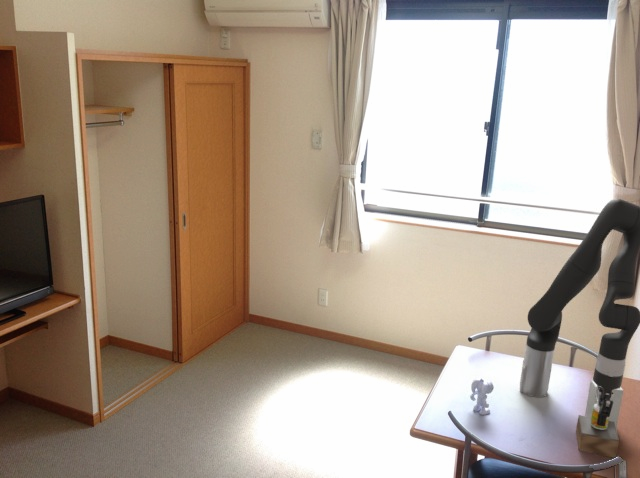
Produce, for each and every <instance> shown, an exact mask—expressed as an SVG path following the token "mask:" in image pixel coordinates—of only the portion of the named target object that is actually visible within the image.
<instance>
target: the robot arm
mask: <svg viewBox="0 0 640 478" xmlns="http://www.w3.org/2000/svg"><path fill="white" fill-rule="evenodd" d="M612 231H617V232H619V233H621V234H623V235H622V237H623V244H622V247H621V248H620V251H619V252H618V254H616V256H615V257H614V259H613V260H612V261H611V262H610V265H609V267H608V273H607V275H608V276H607V288H606V293H605V297H604V300H603V303H602V305H601V307H600V310H599V312H598V321H599V324H600V325H602V326H603V327H605V328H609V329H616V330H620V331H617V332H608V333H605V334H603V335H602V336H601V340H600V345H599V350H598V354H597V357H596V361H595V364H594V365H595V366H594V371H593V376H592V380H593V381H594V382H595V383H596V384H597V390H596V396H595V397H596V404H597V399H598V406H599V411H598V418H597V425H599V426H605V423H606V418H607V417H609V416H610V412H611V409H612V406H613V401H612V399H613V392H612V390H614V389H618V388H620V387H621V388H622V382H623V377H624V372H625V367H626V358H627V354H628V353H627V352H628V348H629V345H630V343H631V340H632V338H633V337H634V335H635V333H636V332H637V330H638V328H639V326H640V309H639V308H638V307H637V306H633V305H630V304H629V305H628V304H623V303H622V304H620V303H615V301H619V300H628V299H630V298H633V297H634V295H635V289H636V269H637V263H638V262H637V261H638V257H639V254H640V253H639V252H640V206H639V205H637V204H635V203H632V202H629V201H626V200H624V199H621V198H613V199H611V200H610V201H608V202H607V203H606V204H605V205H604V207H603V208H602V210H601V211H600V213H599V214H598V216H597V218H596V220H595V221H594V222H593V224H592V226H591V228H590V229H589V231H588V232H587V234H586V235H585V237H584V238H583V239H582V241H581V243H580V244H579V245H578V247H577V248H576V249H575V251H574V252H573V253H572V254H571V255H570V257H568V260H566V262H565V263H564V264H563V266H562V267H561V269H560V271H559V272H558V274H557V275H556V277H555V278H554V279H553V281H552V282H551V285H550V286H549V288H548V289H547V290H546V292H545V293H544V294H543V295H542V296H541V297H540V299H538V300H537V302H535V304H534V305H532V306H531V307H530V309H529V310H528V313H527V322H528V325H529V326H530V328H531V329H530V330H529V333H528V334H527V338H526V343H525V351H524V358H523V361H522V367H521V375H520V381H519V392H520V393H524V394H525V395H527V396H531V397H536V398H542V397H545V396H547V395H548V392H549V385H550V379H551V374H552V368H553V367H552V366H553V361H554V355H555V348H556V345H557V342H558V339H559V335H560V330H561V325H562V321H563V320H562V319H563V310H564V308H565V307H566V306H567V305H568V304H569V303H570V302H571V301H572V300H573V299H574V298H575V297H577V295H579V294H580V293H581V292H582V291H583V290H584V289H585V288H586V287H587V285H588V284H589V283H590V282H591V281H592V280H593V279H594V277H595V276H596V275H597V274H598V272H599V271H600V269H601V264H602V254H603V253H602V251H603V250H602V248H603V246H604V245H603V244H604V242H605V240H606V238H607V237H608V235H609V234H610V233H611V232H612ZM601 402H602V403H601Z"/></svg>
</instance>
